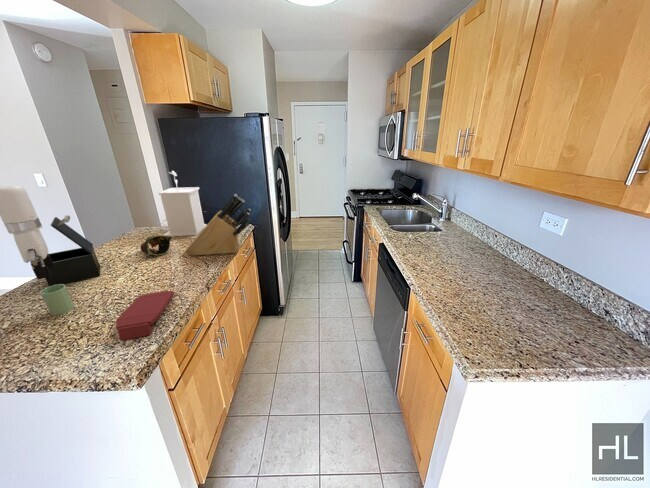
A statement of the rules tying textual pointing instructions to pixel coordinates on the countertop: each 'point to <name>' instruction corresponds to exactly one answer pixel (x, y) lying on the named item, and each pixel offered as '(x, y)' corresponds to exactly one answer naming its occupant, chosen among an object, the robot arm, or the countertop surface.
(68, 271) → the box
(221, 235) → the knife block
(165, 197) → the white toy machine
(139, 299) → the carton
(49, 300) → the cup
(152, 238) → the pot
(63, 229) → the lid
